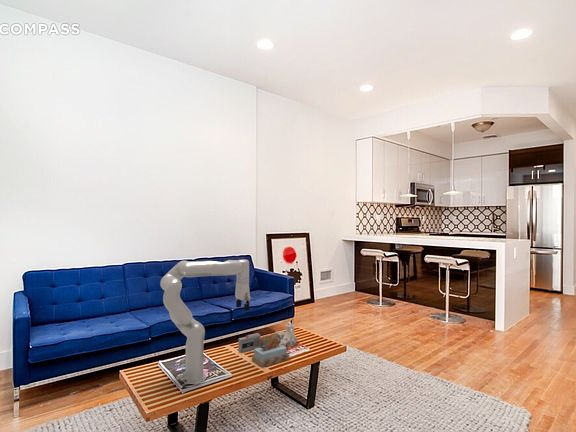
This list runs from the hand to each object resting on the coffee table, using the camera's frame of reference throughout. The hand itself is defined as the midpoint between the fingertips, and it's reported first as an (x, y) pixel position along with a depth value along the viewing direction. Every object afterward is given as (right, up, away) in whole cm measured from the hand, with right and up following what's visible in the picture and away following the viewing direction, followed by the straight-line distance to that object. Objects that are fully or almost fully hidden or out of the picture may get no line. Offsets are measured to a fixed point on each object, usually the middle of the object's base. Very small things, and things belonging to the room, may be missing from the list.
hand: (242, 308), depth 206 cm
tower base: (+17, -35, +8) cm, 40 cm away
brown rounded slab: (+16, -27, +8) cm, 33 cm away
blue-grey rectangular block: (+16, -31, +8) cm, 36 cm away
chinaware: (+26, -35, +35) cm, 56 cm away
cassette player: (+1, -35, +25) cm, 43 cm away
